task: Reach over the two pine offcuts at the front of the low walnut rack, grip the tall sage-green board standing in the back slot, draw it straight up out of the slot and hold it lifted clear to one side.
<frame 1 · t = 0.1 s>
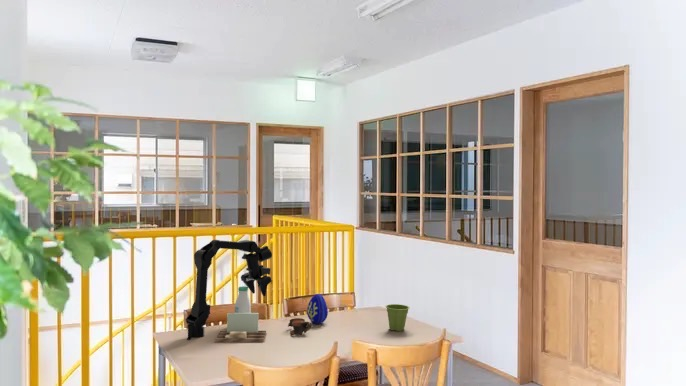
hand: (259, 294, 267), 15 cm above the table, tool pointing down, fingers open, 9 cm apart
sage board: (242, 334, 246), point 1 cm above the table, touching walnut rack
upper pine offcut: (238, 335, 237), point 3 cm above the table, touching lower pine offcut
milk bottle: (242, 328, 262), on the table
pottery mug: (299, 333, 254), on the table
plant pot: (397, 329, 265), on the table
ornament: (317, 323, 274), on the table
lower pine offcut: (235, 340, 237), point 1 cm above the table, touching upper pine offcut, walnut rack
walnut rack: (241, 339, 242), on the table
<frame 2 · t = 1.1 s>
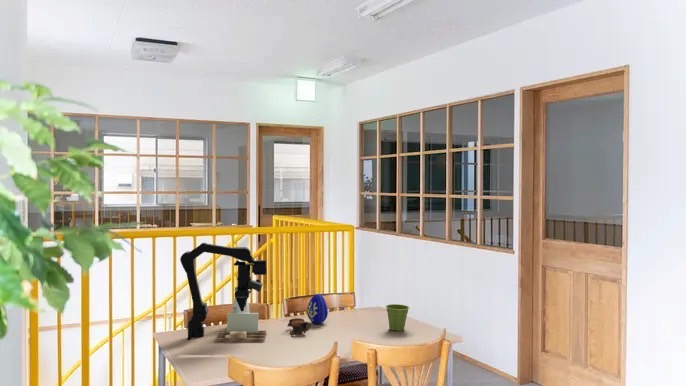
hand: (243, 308, 246), 13 cm above the table, tool pointing down, fingers open, 9 cm apart
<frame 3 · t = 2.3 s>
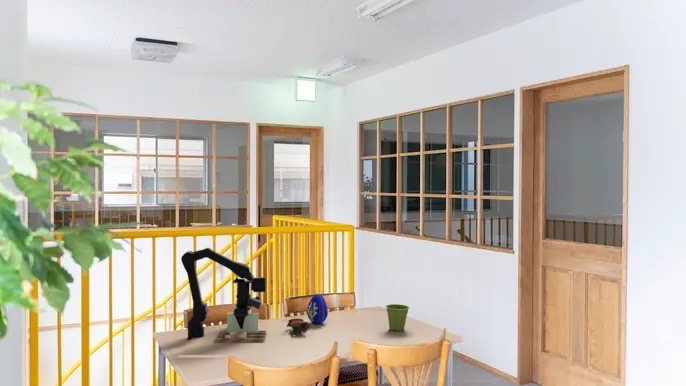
hand: (242, 326, 246), 5 cm above the table, tool pointing down, fingers open, 9 cm apart
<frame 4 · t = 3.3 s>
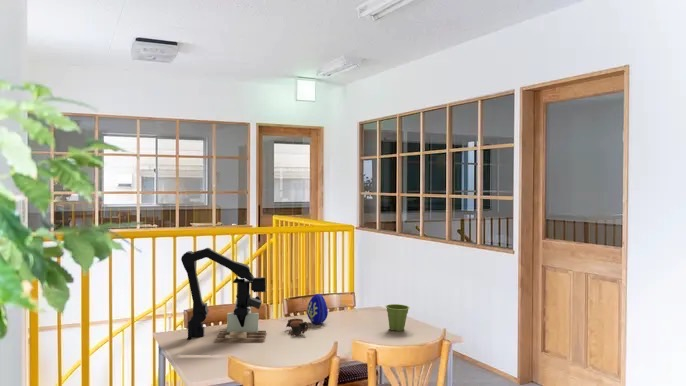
hand: (242, 326, 246), 5 cm above the table, tool pointing down, fingers closed on sage board, 2 cm apart
sage board: (242, 334, 246), point 1 cm above the table, touching gripper, walnut rack
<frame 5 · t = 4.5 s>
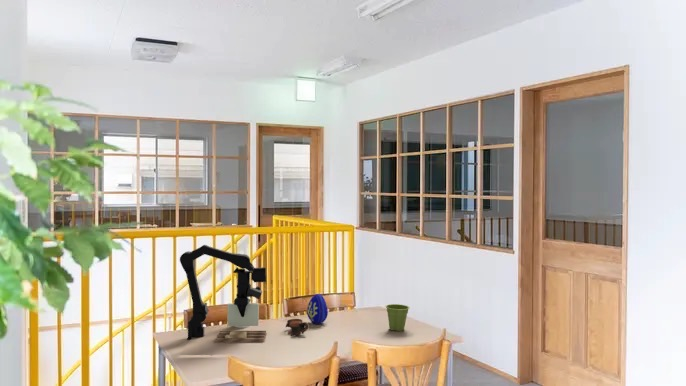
hand: (243, 316, 246), 10 cm above the table, tool pointing down, fingers closed on sage board
sage board: (242, 325, 246), point 5 cm above the table, touching gripper
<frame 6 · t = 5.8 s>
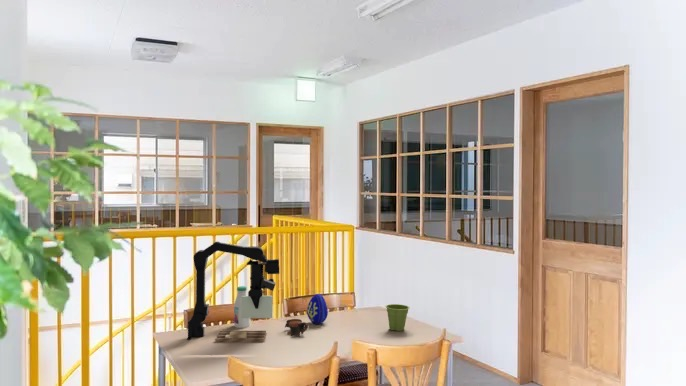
hand: (256, 308, 246), 13 cm above the table, tool pointing down, fingers closed on sage board
sage board: (257, 317, 246), point 9 cm above the table, touching gripper
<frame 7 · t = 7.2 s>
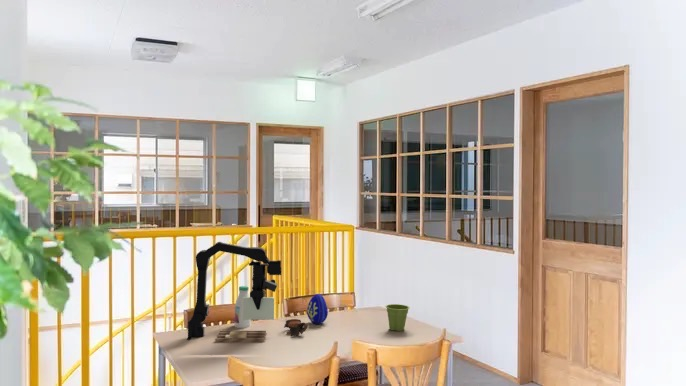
hand: (258, 309, 246), 13 cm above the table, tool pointing down, fingers closed on sage board
sage board: (258, 319, 246), point 8 cm above the table, touching gripper
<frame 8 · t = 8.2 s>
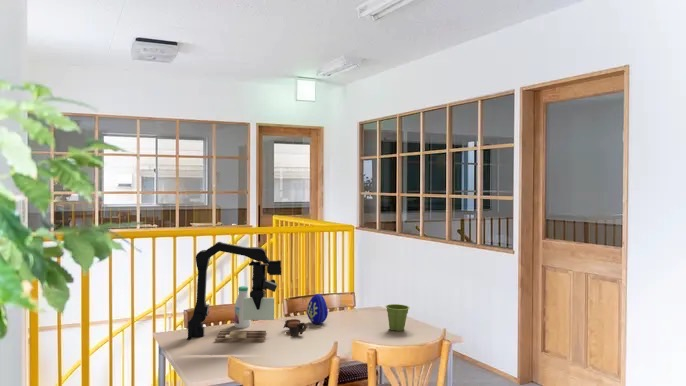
hand: (258, 309, 246), 13 cm above the table, tool pointing down, fingers closed on sage board
sage board: (258, 319, 246), point 8 cm above the table, touching gripper
at the end: the gripper is holding sage board; sage board point 8.0 cm above the table; upper pine offcut moved 0.0 cm from its start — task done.
